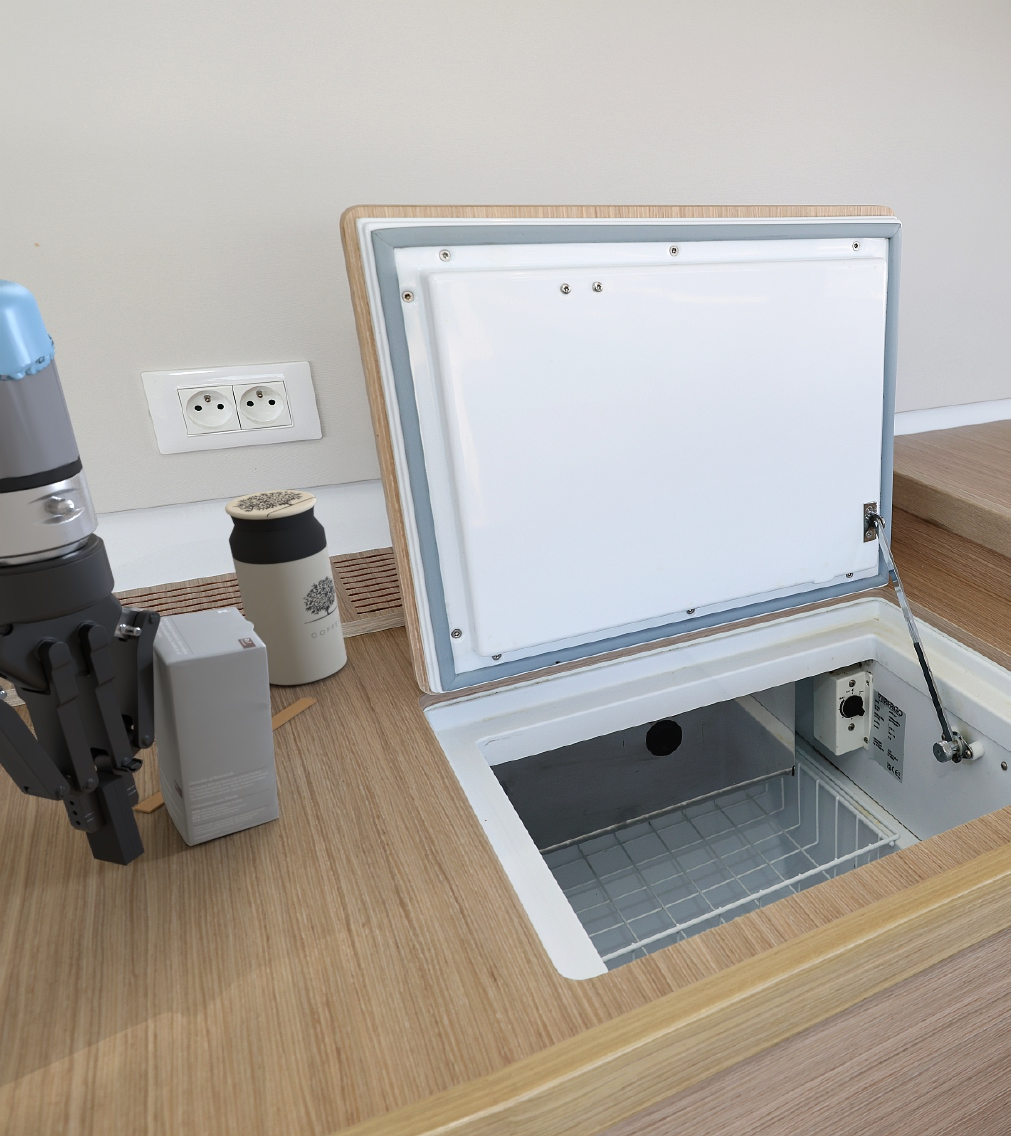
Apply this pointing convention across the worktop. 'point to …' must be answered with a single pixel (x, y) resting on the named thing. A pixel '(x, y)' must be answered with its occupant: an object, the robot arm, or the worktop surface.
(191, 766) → the cosmetic box
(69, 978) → the worktop surface
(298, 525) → the travel mug
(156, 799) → the wooden strip
